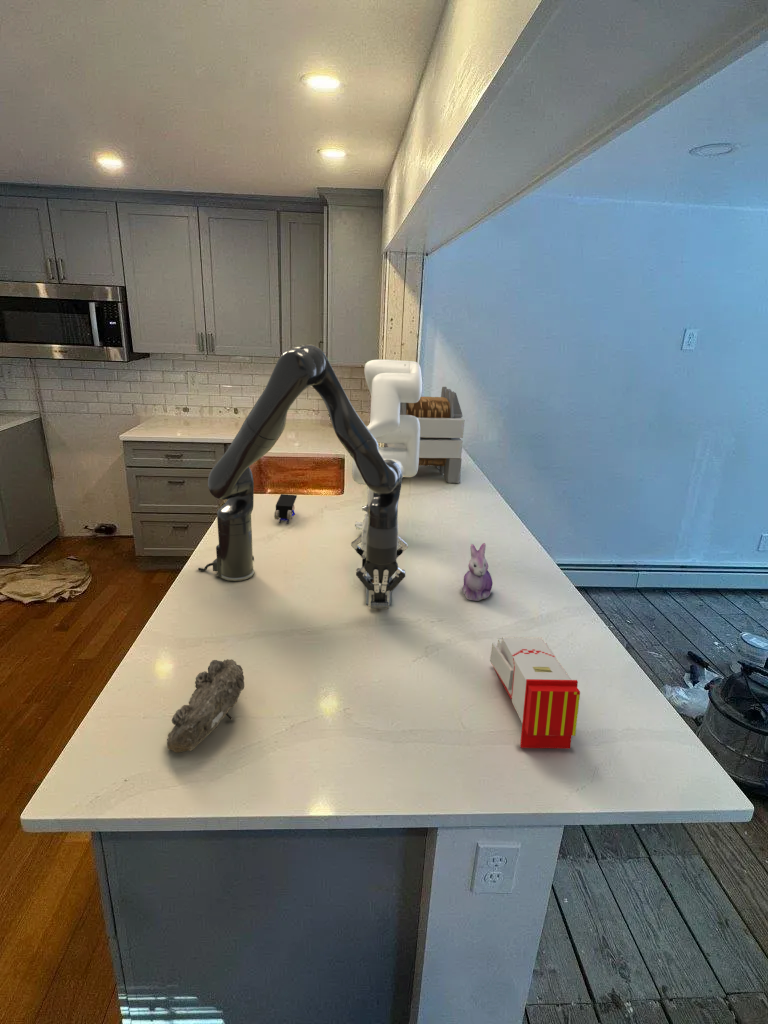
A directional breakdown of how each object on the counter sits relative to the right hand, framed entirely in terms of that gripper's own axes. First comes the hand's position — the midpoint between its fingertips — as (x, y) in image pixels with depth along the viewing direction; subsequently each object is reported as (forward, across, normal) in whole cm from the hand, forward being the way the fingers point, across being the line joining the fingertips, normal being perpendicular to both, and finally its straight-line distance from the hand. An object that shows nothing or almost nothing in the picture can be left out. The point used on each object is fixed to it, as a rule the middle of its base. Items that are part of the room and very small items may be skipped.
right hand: (378, 569), depth 161 cm
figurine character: (+5, -33, +51) cm, 61 cm away
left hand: (+1, 0, -17) cm, 17 cm away
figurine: (+5, +28, -4) cm, 28 cm away
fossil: (+5, -32, -56) cm, 65 cm away
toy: (+5, +30, -50) cm, 58 cm away
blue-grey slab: (+5, 0, -3) cm, 6 cm away
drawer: (+4, 0, -10) cm, 10 cm away
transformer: (+5, +22, +119) cm, 121 cm away
